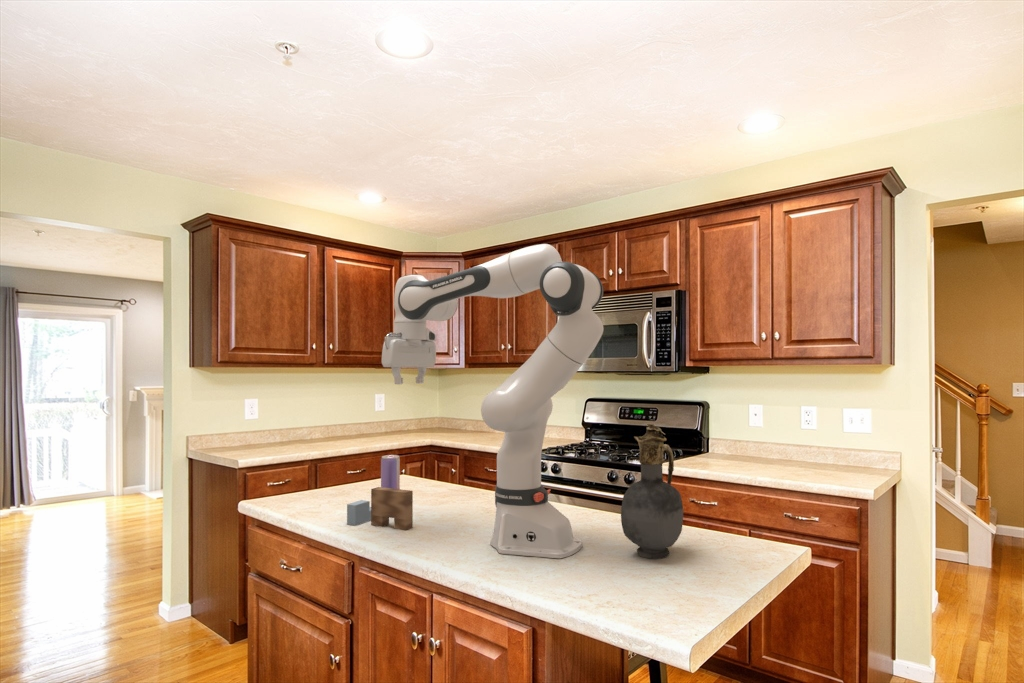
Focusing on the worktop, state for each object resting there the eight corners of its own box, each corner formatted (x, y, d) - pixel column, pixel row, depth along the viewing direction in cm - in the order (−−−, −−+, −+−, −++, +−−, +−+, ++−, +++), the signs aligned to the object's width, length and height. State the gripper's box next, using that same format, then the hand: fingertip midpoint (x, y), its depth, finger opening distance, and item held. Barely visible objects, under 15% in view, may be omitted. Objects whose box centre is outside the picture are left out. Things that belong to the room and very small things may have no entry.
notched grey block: (391, 513, 180) (392, 494, 180) (355, 525, 166) (355, 505, 166) (384, 512, 181) (384, 493, 182) (347, 524, 167) (347, 504, 167)
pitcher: (615, 557, 136) (613, 425, 138) (653, 538, 151) (651, 419, 152) (659, 567, 130) (657, 428, 131) (694, 546, 144) (692, 422, 146)
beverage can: (389, 505, 190) (389, 458, 191) (377, 503, 193) (377, 456, 194) (403, 502, 195) (403, 455, 195) (391, 499, 198) (391, 454, 199)
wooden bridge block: (412, 527, 163) (412, 490, 164) (405, 530, 161) (405, 492, 161) (378, 522, 169) (378, 486, 169) (371, 525, 166) (371, 488, 167)
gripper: (395, 331, 155) (394, 385, 154) (440, 335, 173) (439, 383, 172) (376, 332, 157) (375, 384, 157) (422, 335, 176) (421, 382, 175)
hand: (409, 383), depth 165 cm, fingers open, 8 cm apart
